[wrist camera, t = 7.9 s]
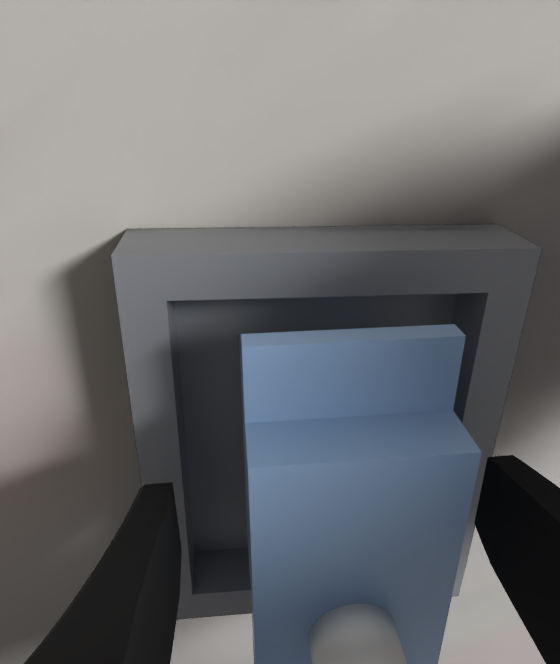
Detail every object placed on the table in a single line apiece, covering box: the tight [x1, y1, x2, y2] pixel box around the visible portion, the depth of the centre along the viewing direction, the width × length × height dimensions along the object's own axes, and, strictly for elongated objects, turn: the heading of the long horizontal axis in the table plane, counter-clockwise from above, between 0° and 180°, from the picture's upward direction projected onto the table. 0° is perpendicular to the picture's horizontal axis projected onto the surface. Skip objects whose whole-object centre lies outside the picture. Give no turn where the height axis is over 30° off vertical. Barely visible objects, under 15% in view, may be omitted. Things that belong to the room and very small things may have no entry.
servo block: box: [239, 324, 482, 664], centre depth 12 cm, size 4×9×6 cm, turn 0°
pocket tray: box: [111, 224, 542, 619], centre depth 14 cm, size 9×11×2 cm
